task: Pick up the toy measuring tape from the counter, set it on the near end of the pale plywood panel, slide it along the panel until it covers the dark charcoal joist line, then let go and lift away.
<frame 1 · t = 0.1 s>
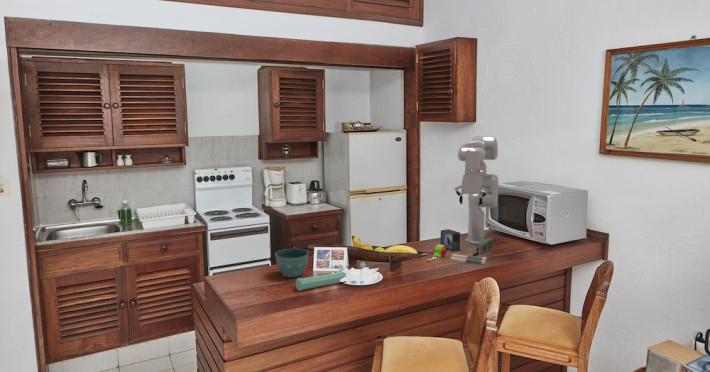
hand: (470, 204, 264), 31 cm above the table, tool pointing down, fingers open, 9 cm apart
handheld radio: (482, 252, 287), on the table
flower pot: (291, 275, 243), on the table
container: (323, 286, 228), on the table
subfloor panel: (468, 260, 270), on the table
toy measuring tape: (436, 258, 275), on the table
small box: (449, 248, 294), on the table
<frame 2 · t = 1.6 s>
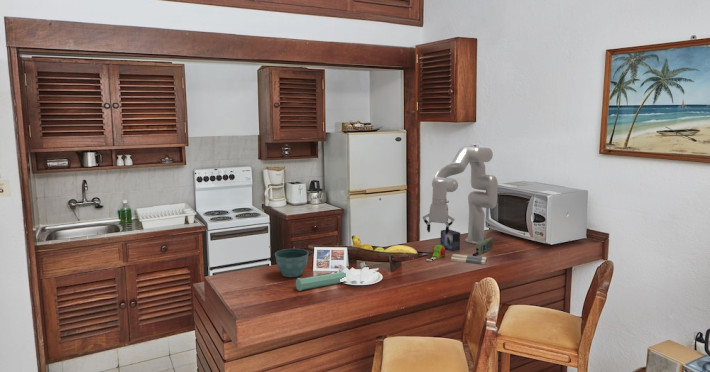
hand: (437, 232, 273), 14 cm above the table, tool pointing down, fingers open, 9 cm apart
toy measuring tape: (435, 258, 275), on the table
everything else where it was.
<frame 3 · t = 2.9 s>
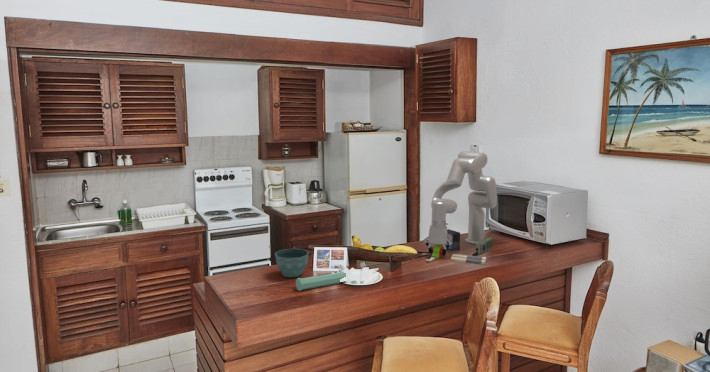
hand: (437, 254, 275), 1 cm above the table, tool pointing down, fingers closed on toy measuring tape, 6 cm apart
toy measuring tape: (434, 258, 274), on the table, touching gripper
everything else where it was.
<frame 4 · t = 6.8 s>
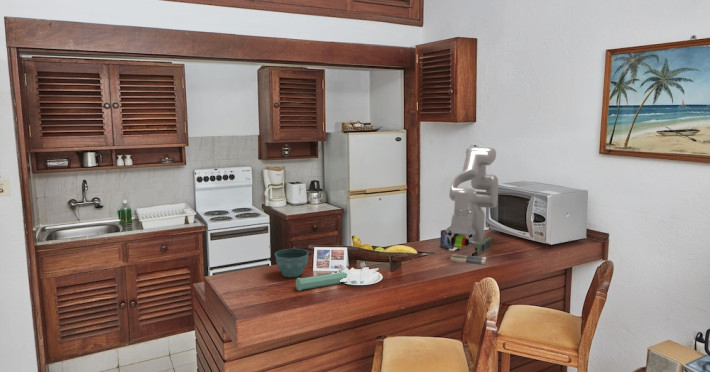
hand: (459, 244, 270), 8 cm above the table, tool pointing down, fingers closed on toy measuring tape, 6 cm apart
toy measuring tape: (457, 248, 269), point 7 cm above the table, touching gripper
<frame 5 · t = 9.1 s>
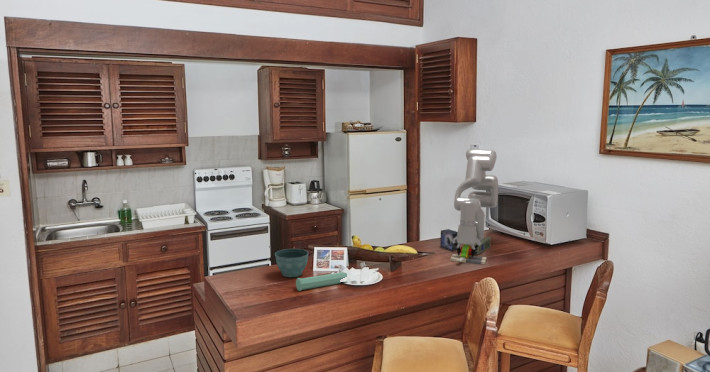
hand: (465, 255, 270), 3 cm above the table, tool pointing down, fingers closed on toy measuring tape, 6 cm apart
toy measuring tape: (463, 258, 269), point 1 cm above the table, touching gripper
when the fingers open (3 cm above the table, at t = 10.6 s): toy measuring tape stays where it is, resting on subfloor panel.
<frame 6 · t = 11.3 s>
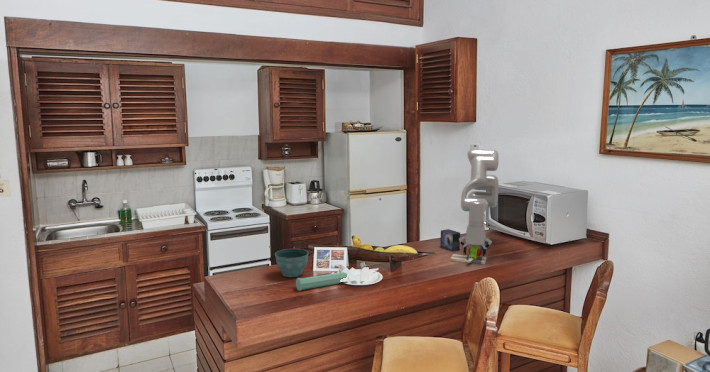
hand: (474, 254, 269), 3 cm above the table, tool pointing down, fingers open, 9 cm apart
toy measuring tape: (472, 259, 268), point 1 cm above the table, touching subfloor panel
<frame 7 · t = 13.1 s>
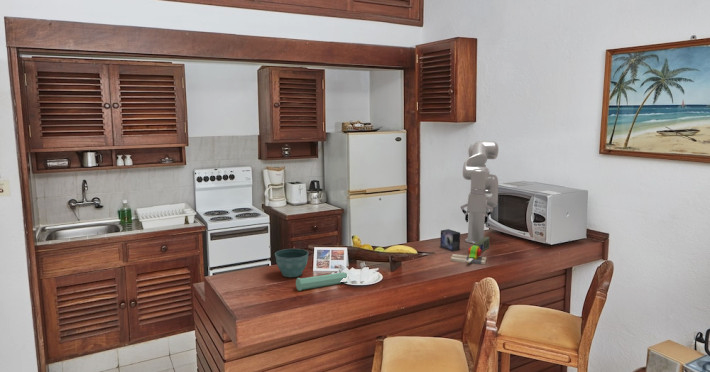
hand: (476, 222, 272), 20 cm above the table, tool pointing down, fingers open, 9 cm apart
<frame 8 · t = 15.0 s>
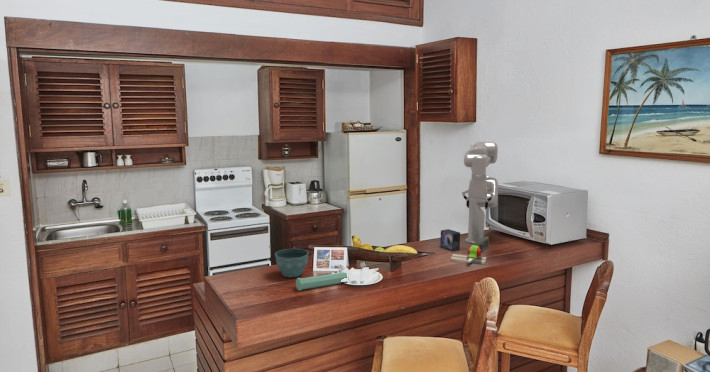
hand: (476, 208, 280), 26 cm above the table, tool pointing down, fingers open, 9 cm apart
at the end: toy measuring tape 1.8 cm from the target spot on the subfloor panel, point 1.3 cm above the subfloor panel's base; the gripper is holding nothing; toy measuring tape tilted 0° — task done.
